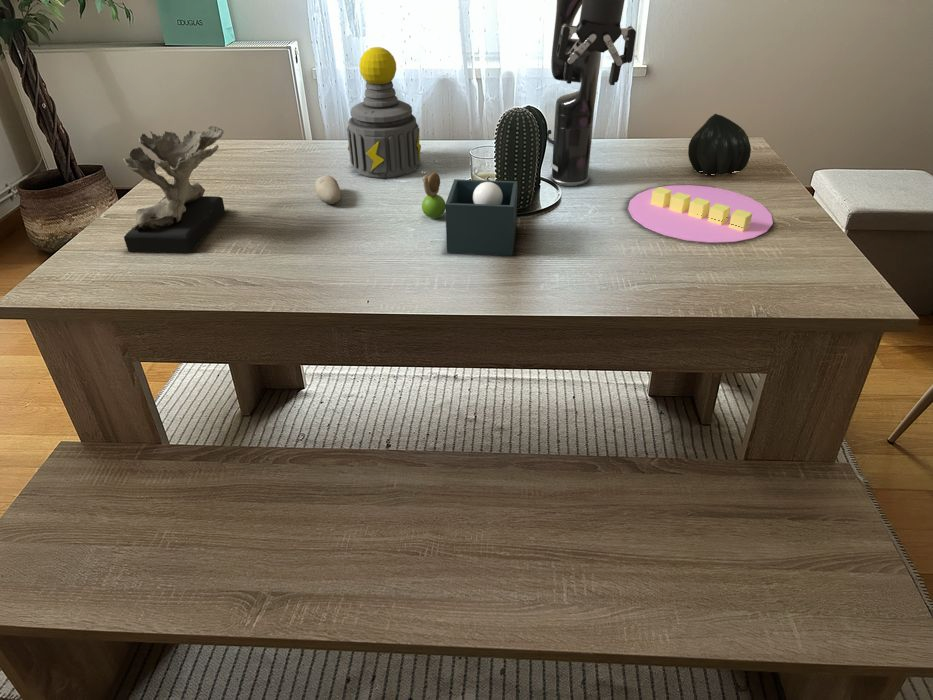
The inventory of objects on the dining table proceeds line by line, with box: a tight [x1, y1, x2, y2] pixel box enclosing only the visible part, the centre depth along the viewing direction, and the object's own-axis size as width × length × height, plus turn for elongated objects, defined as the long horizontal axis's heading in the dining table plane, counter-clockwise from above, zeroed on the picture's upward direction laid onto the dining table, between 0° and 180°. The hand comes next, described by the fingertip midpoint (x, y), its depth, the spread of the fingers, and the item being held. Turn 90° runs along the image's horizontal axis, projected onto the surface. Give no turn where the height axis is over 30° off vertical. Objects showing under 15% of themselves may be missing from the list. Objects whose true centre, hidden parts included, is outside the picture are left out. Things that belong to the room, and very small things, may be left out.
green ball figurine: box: [421, 170, 446, 219], centre depth 157 cm, size 5×6×12 cm
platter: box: [627, 184, 774, 244], centre depth 160 cm, size 32×32×3 cm
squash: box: [687, 113, 752, 178], centre depth 178 cm, size 14×15×15 cm
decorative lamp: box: [346, 46, 422, 179], centre depth 179 cm, size 19×19×30 cm
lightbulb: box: [473, 182, 503, 205], centre depth 148 cm, size 6×6×11 cm
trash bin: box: [445, 178, 519, 257], centre depth 147 cm, size 14×14×11 cm
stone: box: [314, 174, 342, 205], centre depth 169 cm, size 6×6×12 cm
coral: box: [122, 125, 226, 254], centre depth 151 cm, size 25×20×22 cm
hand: (589, 83), depth 137 cm, fingers open, 8 cm apart
